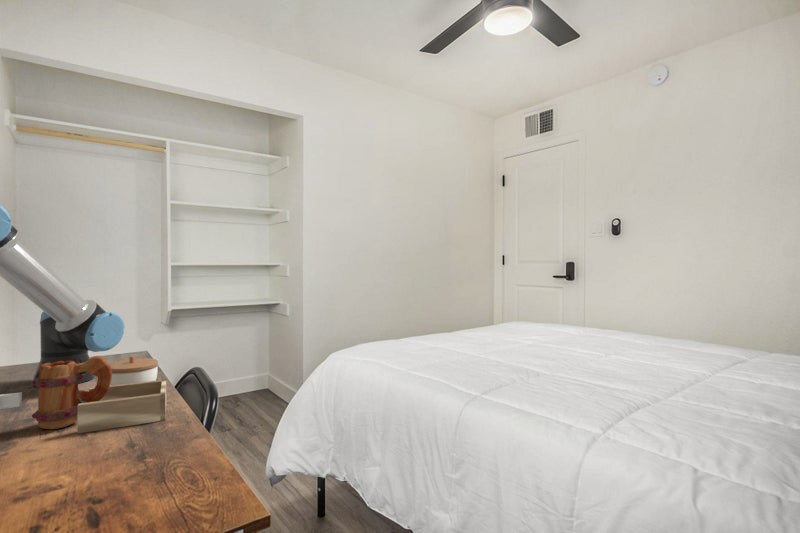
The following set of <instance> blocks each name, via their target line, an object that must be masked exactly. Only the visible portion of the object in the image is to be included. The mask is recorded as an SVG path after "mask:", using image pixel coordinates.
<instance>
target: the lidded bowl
mask: <svg viewBox="0 0 800 533" xmlns="http://www.w3.org/2000/svg"><path fill="white" fill-rule="evenodd" d="M109 365H110V367H111V369H112V381H111V384H110V386H112V385H121V384H130V383H138V382H147V381H156V380H157V378H158V372H159V371H158V366H159V361H158V359H155V358H146V357H145V358H135V355H130V356H129V359H124V360H118V361H114V362H110V363H109Z"/></svg>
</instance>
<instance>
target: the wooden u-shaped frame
mask: <svg viewBox="0 0 800 533" xmlns="http://www.w3.org/2000/svg"><path fill="white" fill-rule="evenodd" d="M95 387H96V386H95ZM95 387H90V388H89V389H88V391H91V390H93V389H94V388H95ZM166 411H167V379H158V380H157V379H156V381H147V382H138V383H130V384H121V385H112V386H110V387H109V389H108V391H107V392H106V394H105V395H104V396H103V398H102V399H101V400H100V401H97V402H89V403H87V402H81V404H78V420H77V434H83V433H90V432H95V431H96V432H97V431H103V430H109V429H117V428H122V427H128V426H135V425H141V424H142V425H143V424H150V423H156V422H161V421H165V420H166Z"/></svg>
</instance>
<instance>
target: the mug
mask: <svg viewBox="0 0 800 533" xmlns="http://www.w3.org/2000/svg"><path fill="white" fill-rule="evenodd" d="M89 358H90V359H89V360H88V361H86V362H84V363H79V364H76V363H75V362H74V361H66V362H64V361H59V362H54V363H45V364H41V366H40V370H39V377H38V378H36V379H35V380H34V381H33V380H32V382H31V383H32V385H33V384H34V385H36V386H37V387H36V388H38V391H37V392H38V393H37V394H38V396H37V397H38V405H37V406H38V408H37V410H36V411H35V412H34V413H32V415H31V418H33V419H35V421H37V422H38V427H39V428H40V429H41V428H42V429H45V430H56V429H57V430H59V429H63V428H65V427H68V426H70V425H73V424H74V423H77V422H78V404H81V403H82V401H83V402H84V403H89V402H97V401H100V400H101V399H102V398H103V396H104V395H105V394H106V392H107V391H108V389H109V387H110V384H111V381H112V369H111V367H110V365H109V364H110V363H109V362H108V361H107V360H106V359H105V358H104V357H103V356H100V355H94V356H92V357H89ZM80 372H87V373H90V374H92V375H95V376H96V377H97V381H96V385H95V388H94V387H93V388H94V389H93V390H91V391H89V390H88V391H87V390H82V389H79V383H78V381H79V380H81V379H82V378H83V375H82V374H80Z"/></svg>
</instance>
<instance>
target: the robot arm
mask: <svg viewBox="0 0 800 533" xmlns="http://www.w3.org/2000/svg"><path fill="white" fill-rule="evenodd" d="M11 221H12V217H11V215H10V214H9V212H8V210H7V209H6V208H5V207H4V206H3V205H2V204H0V277H1V278H2V279H3V280H4V281H6V282H7V283H8V284H9V285H11V286H12V287H14V289H15V290H17V291H18V292H20V294H22V295H23V296H24V297H26V298H27V299H28V300H29V301H31V303H33V304H34V305H36V307H38V308H39V309H40V310H41V311H42V312H41V314H40V320H39V325H40V359H39V362H38V365H37V367H36V370H35V373H34V375H33V377H32V378H33V379H32V382H33V381H34V380H35V379H36V378H38V377H39V370H40V366H41V364H45V363H54V362H59V361H64V362H66V361H74V362H75V363H76V364H79V363H84V362H86V361H88V360H89V359H90V358H91V357H90V356H89V351H90V352H92V353H98V352H106V351H109V350H112V349H113V348H115V347H116V346H117V345H118V344H119V343H120V341H121V340H122V339H123V336H124V333H125V330H124V329H125V322H124V320H123V319H122V317H121V315H119V314H117V313H115V312H112V311H106V310H105V309H104V308H102V307H101V306H100V305H99V304H98V303H97V302H96V301H95V300H93V299H92V300H91V299H86V300H85V299H84V298H83V297H81V295H80V294H78V293H77V292H76V291H75V290H74V289H73V288H72V287H70V286H69V285H68V283H66V282H65V281H64V280H63V279H62V278H60V277H59V276H58V275H57V274H56V273H55V272H54V271H53V270H52V269H50V268H49V266H48V265H46V264H45V263H44V262H43V261H42V260H41V259H39V258H38V257H37V256H36V254H34V253H33V252H32V251H31V250H29V248H28V247H26V246H25V245H24V244H23V243H22V242H21V241H19V230H17V229H16V227H15V226H13V224H12V222H11ZM80 374H82V375H83V378H82V379H81V380H79V381H78V384H81V383H85V382H87V381H91V380H93V379H94V378H95V375H92V374H90V373H87V372H80ZM32 385H33V387H36V388H38V387H37V386H36V385H34V384H33V383H32ZM22 404H23V392H22V391H21V392H14V393H13V392H12V393H2V394H0V410H1V409H2V410H3V409H11V408H19V407H21V406H22Z"/></svg>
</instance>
